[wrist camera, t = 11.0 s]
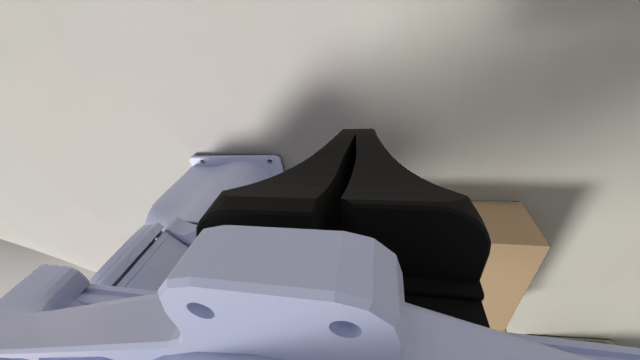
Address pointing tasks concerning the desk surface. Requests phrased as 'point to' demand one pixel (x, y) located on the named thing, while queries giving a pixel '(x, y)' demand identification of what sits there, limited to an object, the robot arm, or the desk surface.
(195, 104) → the desk surface
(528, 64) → the desk surface
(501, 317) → the carton
